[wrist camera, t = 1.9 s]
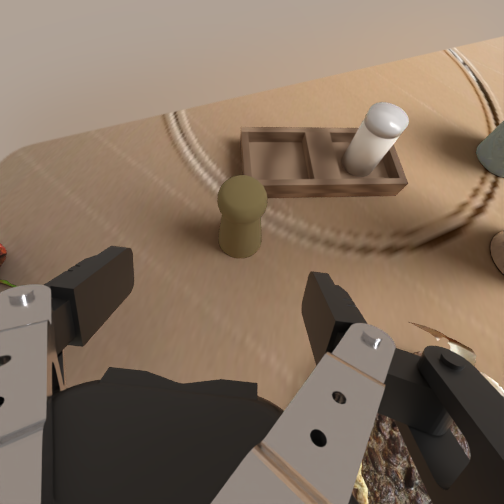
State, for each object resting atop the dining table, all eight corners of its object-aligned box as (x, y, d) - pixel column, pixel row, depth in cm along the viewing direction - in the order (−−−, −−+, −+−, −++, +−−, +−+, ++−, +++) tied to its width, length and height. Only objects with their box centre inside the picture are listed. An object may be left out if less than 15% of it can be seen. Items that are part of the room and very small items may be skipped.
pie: (501, 751, 20) (582, 872, 15) (229, 495, 25) (228, 527, 20) (558, 414, 29) (619, 425, 25) (355, 279, 34) (374, 267, 30)
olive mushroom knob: (215, 221, 35) (208, 168, 25) (257, 216, 36) (267, 162, 26) (221, 261, 33) (216, 220, 23) (265, 255, 34) (279, 212, 23)
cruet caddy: (377, 142, 43) (387, 128, 40) (395, 195, 39) (408, 183, 36) (240, 142, 41) (241, 126, 38) (244, 198, 37) (245, 185, 34)
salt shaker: (368, 151, 41) (401, 102, 33) (376, 176, 39) (414, 131, 31) (338, 151, 40) (364, 101, 32) (345, 177, 38) (374, 131, 30)
